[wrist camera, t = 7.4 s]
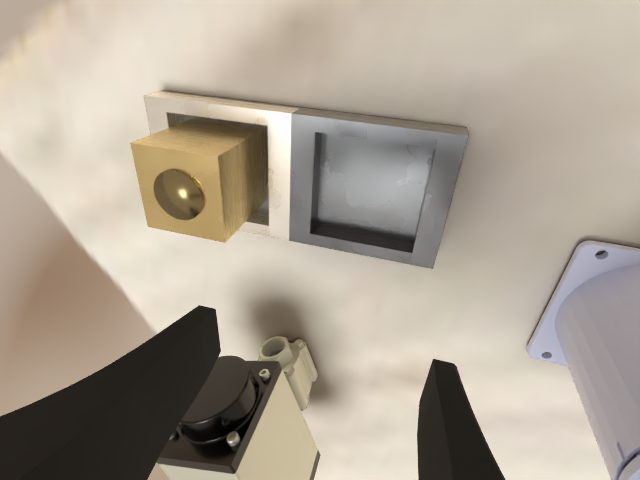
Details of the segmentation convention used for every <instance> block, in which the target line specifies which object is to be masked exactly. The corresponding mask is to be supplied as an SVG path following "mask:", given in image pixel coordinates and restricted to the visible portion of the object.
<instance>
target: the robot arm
mask: <svg viewBox="0 0 640 480" xmlns="http://www.w3.org/2000/svg"><path fill="white" fill-rule="evenodd" d="M600 250H605V252H604V253H603V254H601V255H595V254H596V253H597V252H598V251H600ZM220 352H221V349H220V341H219V333H218V325H217V316H216V309H213V308H209V307H204V306H200V305H199V306H198V307H196V308H195V309H193V310H192V311H190V312H189V313H187V314H186V315H184V316H183V317H182V318H180V319H179V320H177V321H176V322H174V323H173V324H171V325H170V326H169V327H167V328H166V329H164V330H163V331H161V332H160V333H158V334H157V335H155V336H154V337H152V338H151V339H149V340H148V341H146V342H145V343H143V344H142V345H140V346H139V347H137V348H136V349H134V350H132V351H131V352H129V353H128V354H126V355H124V356H123V357H121V358H120V359H118V360H116V361H115V362H113V363H112V364H110V365H108V366H106V367H104V368H103V369H101V370H99V371H97V372H95V373H94V374H92V375H90V376H88V377H86V378H84V379H82V380H81V381H78V382H77V383H75V384H73V385H71V386H69V387H67V388H64V389H63V390H60V391H58V392H56V393H54V394H51V395H49V396H47V397H45V398H43V399H41V400H38V401H36V402H34V403H32V404H30V405H28V406H25V407H23V408H20V409H18V410H15V411H13V412H11V413H8V414H6V415H3V416H1V417H0V480H147V479H148V477H149V475H150V473H151V471H152V469H153V467H154V466H155V463H156V462H157V460H158V458H159V456H160V454H161V452H162V451H163V449H164V447H165V445H166V444H167V442H168V440H169V439H170V437H171V436H172V434H173V432H174V431H175V429H176V428H177V426H178V425H179V423H180V421H181V420H182V418H183V417H184V415H185V414H186V412H187V411H188V409H189V407H190V406H191V404H192V403H193V401H194V400H195V398H196V396H197V395H198V393H199V392H200V390H201V389H202V387H203V385H204V384H205V382H206V380H207V379H208V377H209V375H210V373H211V371H212V369H213V367H214V365H215V362H216V360H217V358H218V356H219V354H220ZM544 352H549V353H544ZM527 353H528V355H529V356H530V357H532V358H535V359H539V360H543V361H548V362H552V363H556V364H560V365H565V366H568V367H569V370H570V372H571V375H572V377H573V380H574V383H575V385H576V388H577V391H578V393H579V396H580V399H581V401H582V404H583V406H584V409H585V412H586V414H587V417H588V420H589V422H590V425H591V427H592V430H593V433H594V435H595V438H596V441H597V443H598V446H599V448H600V451H601V454H602V456H603V459H604V462H605V464H606V467H607V470H608V472H609V475H610V477H611V480H640V249H639V248H634V247H628V246H622V245H616V244H610V243H604V242H598V241H584V242H582V243H580V244H579V245H578V246H577V248H576V250H575V252H574V254H573V256H572V258H571V260H570V262H569V264H568V266H567V268H566V270H565V272H564V274H563V276H562V278H561V280H560V282H559V284H558V286H557V288H556V290H555V292H554V294H553V296H552V298H551V300H550V302H549V304H548V306H547V308H546V310H545V312H544V314H543V316H542V318H541V320H540V322H539V324H538V326H537V328H536V330H535V332H534V334H533V336H532V338H531V340H530V342H529V344H528V346H527ZM417 443H418V474H419V480H505V478H504V476H503V474H502V472H501V470H500V468H499V466H498V465H497V463H496V461H495V459H494V457H493V455H492V453H491V450H490V448H489V446H488V444H487V442H486V440H485V438H484V435H483V433H482V431H481V429H480V427H479V424H478V422H477V420H476V418H475V415H474V413H473V410H472V408H471V406H470V403H469V400H468V398H467V395H466V393H465V390H464V387H463V385H462V382H461V379H460V376H459V373H458V370H457V367H456V366H455V364H453V363H449V362H444V361H440V360H436V359H433V361H432V364H431V367H430V370H429V374H428V377H427V380H426V383H425V386H424V389H423V392H422V395H421V399H420V404H419V417H418V432H417Z"/></svg>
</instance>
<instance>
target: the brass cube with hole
mask: <svg viewBox="0 0 640 480" xmlns="http://www.w3.org/2000/svg"><path fill="white" fill-rule="evenodd" d="M130 144H131V148H132V153H133V158H134V163H135V167H136V172H137V177H138V182H139V186H140V191H141V196H142V200H143V205H144V210H145V215H146V219H147V224H148V227H152V228H157V229H162V230H167V231H171V232H176V233H181V234H186V235H191V236H196V237H201V238H206V239H210V240H215V241H220V242H226V241H227V240H228V239H229V238H230V237H231V236H232V235H233V234H234V233H235V232H236V231H237V230H238V229H239V228H240V227H241V226H242V225H243V224H244V223H245V222H246V221H247V220H248V219H249V218H250V216H251V215H252V214H253V213H254V212H255V211H256V210H257V209H258V208H259V207H260V206H261V205H262V204H263V203H264V202H265V201H266V168H265V128H262V127H255V126H247V125H240V124H233V123H225V122H218V121H211V120H203V119H196V118H192V119H190V120H187V121H185V122H182V123H180V124H177V125H175V126H172V127H170V128H167V129H164V130H162V131H159V132H157V133H154V134H152V135H149V136H147V137H144V138H142V139H139V140H136V141H134V142H131V143H130Z"/></svg>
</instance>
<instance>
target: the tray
mask: <svg viewBox="0 0 640 480" xmlns="http://www.w3.org/2000/svg"><path fill="white" fill-rule="evenodd" d="M144 101H145V107H146V112H147V118H148V123H149V129H150V134H151V135H152V134H154V133H157V132H159V131H162V130H164V129H167V128H170V127H172V126H175V125H177V124H180V123H182V122H185V121H187V120H190V119H192V118H196V119H203V120H211V121H218V122H225V123H233V124H240V125H247V126H255V127H262V128H265V168H266V201H265V202H264V203H263V204H262V205H261V206H260V207H259V208H258V209H257V210H256V211H255V212H254V213H253V214H252V215H251V216H250V218H249V219H248V220H247V221H246V222H245V223H244V224H243V225H242V226H241V227H240V228H239V229H238V231H243V232H249V233H254V234H259V235H264V236H269V237H274V238H279V239H284V240H289V241H294V242H299V243H304V244H309V245H315V246H320V247H325V248H330V249H335V250H340V251H345V252H350V253H355V254H360V255H365V256H370V257H376V258H381V259H386V260H391V261H396V262H401V263H406V264H411V265H416V266H421V267H426V268H431V269H433V267H434V263H435V259H436V256H437V252H438V248H439V244H440V241H441V237H442V233H443V229H444V226H445V222H446V218H447V215H448V211H449V207H450V203H451V200H452V196H453V192H454V188H455V185H456V181H457V177H458V174H459V170H460V166H461V162H462V159H463V155H464V151H465V147H466V144H467V140H468V132H467V128H466V127H461V126H452V125H444V124H436V123H428V122H419V121H411V120H403V119H394V118H386V117H378V116H370V115H361V114H353V113H345V112H337V111H328V110H320V109H312V108H304V107H295V106H287V105H279V104H271V103H262V102H254V101H246V100H238V99H229V98H221V97H213V96H205V95H196V94H188V93H180V92H171V91H158V92H154V93H150V94H146V95H144Z"/></svg>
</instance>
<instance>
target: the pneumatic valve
mask: <svg viewBox="0 0 640 480" xmlns="http://www.w3.org/2000/svg"><path fill="white" fill-rule="evenodd" d="M317 376H318V373H317V371H316V368H315V366H314V363H313V360H312V358H311V355H310V353H309V350H308V348H307V345H306V343H305V341H302V340H301V339H297V340H296V341H295V342H294V343H290V342H288V339H287V338H286V337H281V336H277V337H273V338H270V339H268V340H267V341H265V342H264V343H263V344H262V345H261V346H260V348H259V359H258V361H245V360H243V359H242V358H240V357H237V356H222V357H218V358H217V360H216V362H215V365H214V367H213V369H212V371H211V373H210V375H209V377H208V379H207V380H206V382H205V384H204V385H203V387H202V389H201V390H200V392H199V393H198V395H197V396H196V398H195V400H194V401H193V403H192V404H191V406H190V407H189V409H188V411H187V412H186V414H185V415H184V417H183V418H182V420H181V421H180V423H179V425H178V426H177V428H176V429H175V431H174V432H173V434H172V436H171V437H170V439H169V440H168V442H167V444H166V445H165V447H164V449H163V451H162V452H161V454H160V456H159V458H158V460H157V463H158V464H159V466H160V467H161V468H162V470H163V471H164V472H165V474H166V475H167V476H168V478H169V479H170V480H314V476H315V473H316V469H317V465H318V462H319V458H320V453H319V451H318V449H317V446H316V444H315V442H314V440H313V437H312V435H311V433H310V431H309V428H308V426H307V424H306V422H305V419H304V417H303V415H302V413H301V411H304V410H305V409H306V408H307V405H308V400H309V399H310V395H309V392H310V390H311V387H312V382H315V381H316V378H317Z"/></svg>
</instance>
